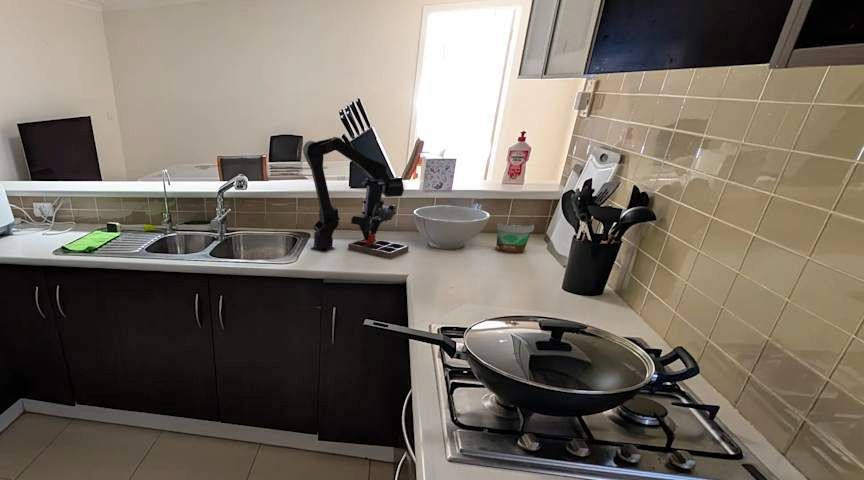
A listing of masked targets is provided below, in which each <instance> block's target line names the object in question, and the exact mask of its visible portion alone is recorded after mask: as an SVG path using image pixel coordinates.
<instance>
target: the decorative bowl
mask: <svg viewBox="0 0 864 480" xmlns="http://www.w3.org/2000/svg"><path fill="white" fill-rule="evenodd" d="M489 219H490V214H489V212H487V211H484V210H482V209H479V208H475V207H467V206H459V205H430V206H424V207H423V206H422V207H419V208H417V209H414V211H413V220H414V223H415V226H416V228H417V230H418V232H419V233H420V236H421V237H423V238H424V239H425V240H426V241H427V242H428V244H429V246H431V247H432V248H437V249H442V250H443V249H444V250H456V249H461V248H462V247H464V244H466V243H468V242H470V241H472V240H473V239H474V238H476V237H477V236H478V235H479V234H480V233H481V232H482V231H483V230H484V228H485V226H486V225H487V224H488V221H489Z"/></svg>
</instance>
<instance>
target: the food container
mask: <svg viewBox="0 0 864 480" xmlns="http://www.w3.org/2000/svg"><path fill="white" fill-rule="evenodd" d="M496 229H497V235H496V244H495V250H496V251H497V252H500V253H504V254H510V255H511V254H512V255H516V254H523V253H524V252H525V249H526V246H527V244H528V241H529V239H530V236H531V233H532V232H534V230H535V225H534V224H532V225H521V224H517V223H514V224H513V223H512V224H505V223H501V222H500V221H498V223H497V224H496Z"/></svg>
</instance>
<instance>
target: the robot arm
mask: <svg viewBox="0 0 864 480" xmlns="http://www.w3.org/2000/svg"><path fill="white" fill-rule="evenodd" d="M334 151H336V152H338V154H341V155H342V156H344V157H345V158H347V159H348V160H349V161H351V162H352V163H354V164H356V165H357V166H358V167H359V168H360V169H361V170H362V171H363V172H364V173H365V175H367V176H368V177H370V178H371V179H372V180H371V179H369V178H368V177H367V178H365V180H363V181H362V182H361V183H360V184H361V186H363V187H366V190H365V191H366V192H365V199H364V200H362V204H364V210H363V211H362V212H361V214H356V215H353V216H352V217H351V219H350V224H352V225H357V226H359V228H360V230H361V233H362V236H363V239H364V238H365V240H368V238H369V233H375V234H376V235H377V232H378V230H379V228H380V226H381V224H383V223H384V222H388V221H391V220H392V219H393V217H394V216H395V215H397V213H396V212H397V206H396V205H395V204H391V205H389V206H388V205H385V200H383V199H382V196H384V197H385V198H394V197H395V198H396V197H402V196H403V194H404V191H405V188H404V182H403V177H402V176H401V177H400V176H396V177H390V176H389V174H388V172H387V166H386V165H385V164H384V163H383V162H380V161H378V160H375V159H372V158H370V157H368V156H366V155H365V154H363V153H361V152H360V151H358V150H357V149H355V148H354V147H353V146H351V144H348V143H346V142H345V141H344V140H343V139H342V138H341V137H339V136H333V137H330V138H327V139H321V140H317V141H314V140H308V141H307V142H305V144H304V145H303V147H302V153H303V155H304V158H305V160H306V162H307V164H308V166H309V168H310V170H311V175H312V178H313V183H314V188H315V192H316V196H317V201H318V205H319V210H318V211H319V212H318V218H319V219H318V220H317V222H316V223H314V225H313V229H314V231H315V232H314V233H313V246H312V247H311V248H310V249H311V250H314V251H317V252H322V253H325V252H328V251H330V250H331V251H332V250H334V249H335V247H334V246H333V241H334V238H333V234H334V231H335V230H337V228H338V227H339V225H340V220H341V218H340V216H339V210H338V208H337V207H335V206H334V205H332V201H331V198H330V193H329V189H328V185H327V184H328V183H327V180H326V176H325V171H324V159H325V158H324V156H325V155H327V154H330V153H332V152H334ZM379 181H380V182H379ZM381 181H382V182H381Z"/></svg>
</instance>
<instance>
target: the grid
mask: <svg viewBox="0 0 864 480" xmlns="http://www.w3.org/2000/svg"><path fill="white" fill-rule="evenodd" d="M364 240H365V238H364V237H363V238H361V239H358V240H356V241H353V242H350V243H348V245H347V250H348V251H352V252H357V253H360V254H365V255H369V256H373V257H374V256H375V257H378V258H383V259H386V260H391V259H393V258H396V257H398V256H401V255H403V254H406V253H409V247H410V245H407V244H402V243H396V242H392V241H388V240H384V239H383V240H382V239H377V238H375V242H373V243H369V242H364Z"/></svg>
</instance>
